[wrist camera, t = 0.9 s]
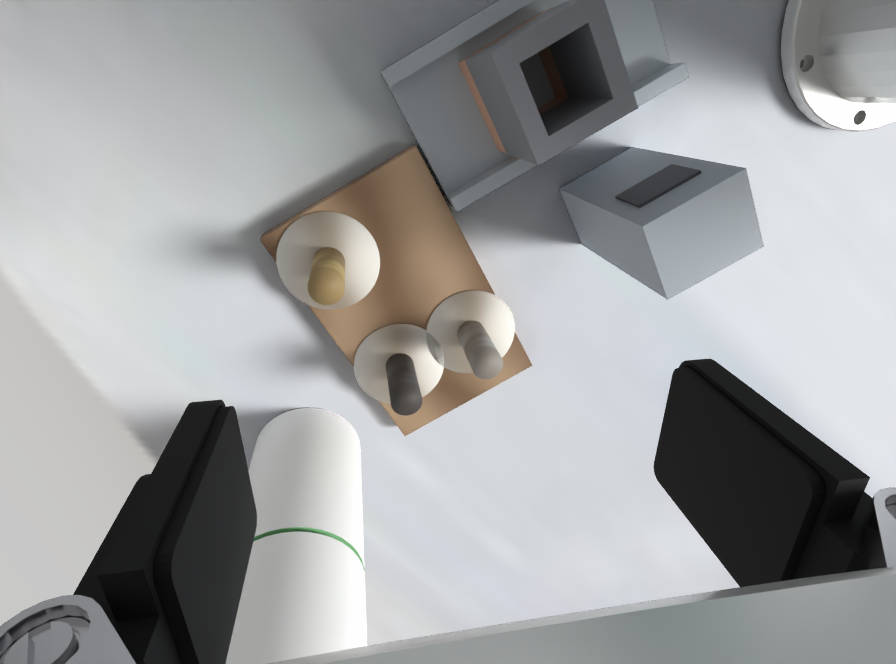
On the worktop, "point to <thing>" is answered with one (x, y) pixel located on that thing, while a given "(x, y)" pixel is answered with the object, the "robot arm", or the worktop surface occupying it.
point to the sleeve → (552, 81)
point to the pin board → (399, 292)
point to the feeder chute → (455, 110)
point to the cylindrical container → (303, 542)
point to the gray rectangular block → (665, 217)
